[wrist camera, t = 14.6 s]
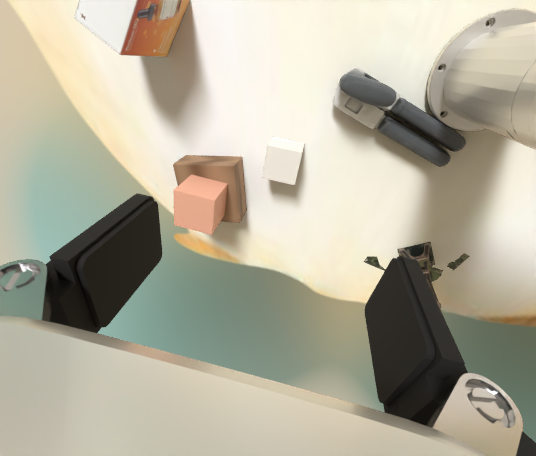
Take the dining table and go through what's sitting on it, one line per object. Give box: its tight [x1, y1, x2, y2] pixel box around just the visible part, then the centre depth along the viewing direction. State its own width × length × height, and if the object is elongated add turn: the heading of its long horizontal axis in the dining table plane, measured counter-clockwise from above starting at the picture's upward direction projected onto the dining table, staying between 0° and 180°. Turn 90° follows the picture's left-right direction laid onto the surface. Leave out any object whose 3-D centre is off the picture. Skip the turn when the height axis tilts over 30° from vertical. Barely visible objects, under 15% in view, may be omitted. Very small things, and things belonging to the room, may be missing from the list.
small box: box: [75, 0, 190, 57], centre depth 30 cm, size 8×6×10 cm
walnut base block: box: [173, 155, 247, 223], centre depth 45 cm, size 10×10×5 cm
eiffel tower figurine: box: [364, 242, 469, 313], centre depth 43 cm, size 15×10×13 cm
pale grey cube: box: [262, 137, 305, 185], centre depth 40 cm, size 5×5×5 cm
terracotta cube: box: [174, 175, 228, 235], centre depth 41 cm, size 6×6×6 cm
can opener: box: [333, 68, 466, 167], centre depth 34 cm, size 19×5×6 cm, turn 63°
